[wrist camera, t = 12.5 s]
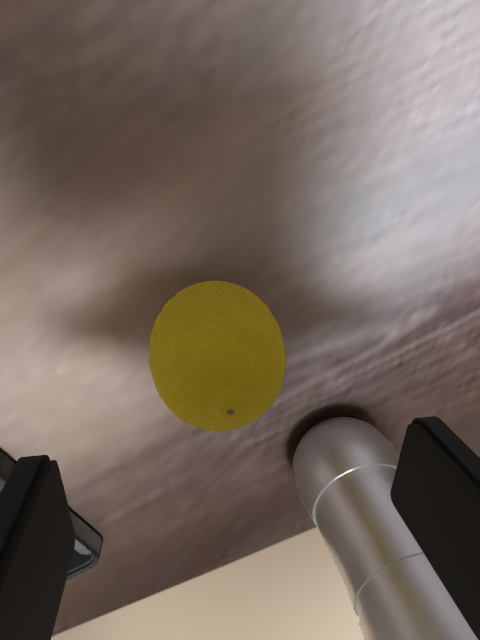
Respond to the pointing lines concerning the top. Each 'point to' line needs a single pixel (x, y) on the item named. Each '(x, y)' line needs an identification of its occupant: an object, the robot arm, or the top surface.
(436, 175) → the top surface
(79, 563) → the phone
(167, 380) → the lemon
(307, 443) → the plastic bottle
